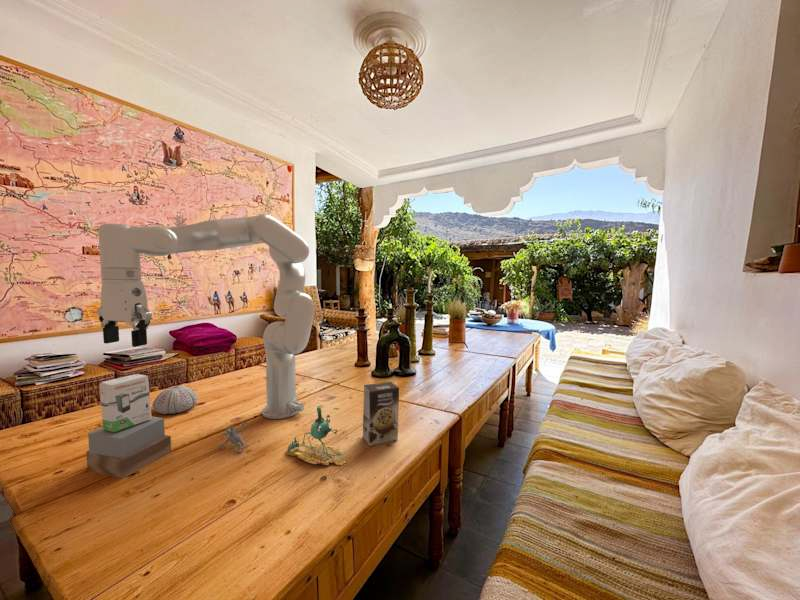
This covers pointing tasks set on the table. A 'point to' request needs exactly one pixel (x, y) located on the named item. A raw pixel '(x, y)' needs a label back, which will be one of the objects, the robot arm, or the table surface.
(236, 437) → the elephant figurine
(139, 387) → the ink box
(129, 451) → the tower top
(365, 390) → the coffee box
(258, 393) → the table surface
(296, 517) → the table surface
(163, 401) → the sea urchin shell
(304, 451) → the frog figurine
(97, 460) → the tower bottom
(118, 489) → the table surface
